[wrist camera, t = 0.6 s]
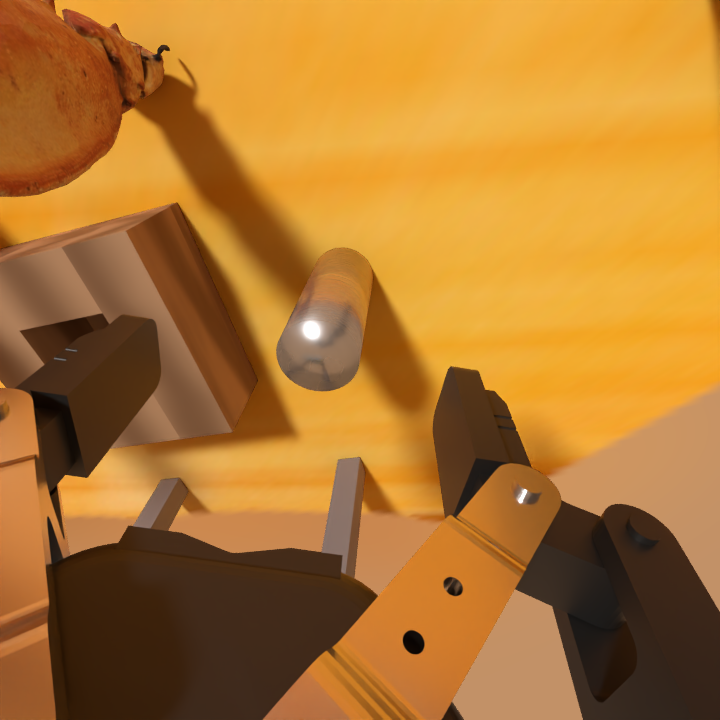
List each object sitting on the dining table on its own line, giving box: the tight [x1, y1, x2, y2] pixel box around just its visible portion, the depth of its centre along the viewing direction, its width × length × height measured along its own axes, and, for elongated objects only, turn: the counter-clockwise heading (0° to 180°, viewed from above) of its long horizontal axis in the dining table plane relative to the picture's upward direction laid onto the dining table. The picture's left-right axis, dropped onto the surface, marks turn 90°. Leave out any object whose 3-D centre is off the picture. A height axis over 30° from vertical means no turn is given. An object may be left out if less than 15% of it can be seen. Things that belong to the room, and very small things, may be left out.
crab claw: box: [0, 0, 170, 197], centre depth 16 cm, size 7×5×20 cm
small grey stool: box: [133, 457, 365, 578], centre depth 28 cm, size 21×11×26 cm, turn 104°
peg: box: [276, 248, 373, 391], centre depth 25 cm, size 4×4×10 cm
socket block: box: [0, 203, 258, 449], centre depth 30 cm, size 14×14×6 cm
